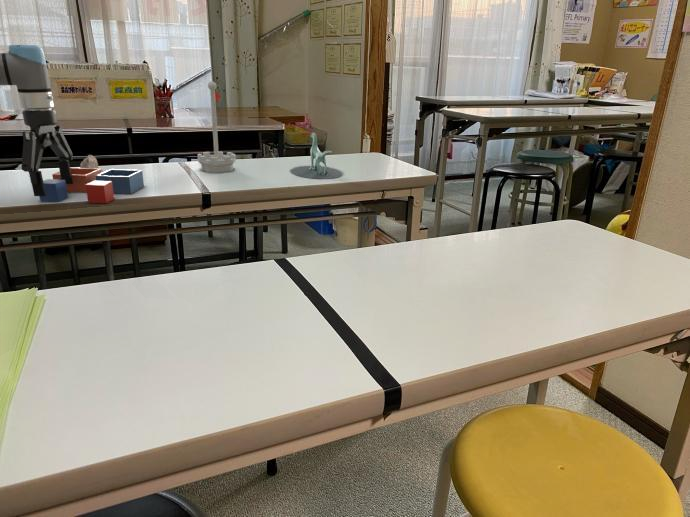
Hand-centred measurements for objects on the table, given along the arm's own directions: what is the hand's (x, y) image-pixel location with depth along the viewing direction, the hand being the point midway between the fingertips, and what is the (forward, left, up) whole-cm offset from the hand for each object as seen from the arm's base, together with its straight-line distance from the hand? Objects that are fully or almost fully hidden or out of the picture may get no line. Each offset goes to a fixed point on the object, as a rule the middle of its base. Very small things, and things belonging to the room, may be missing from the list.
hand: (54, 189), depth 141 cm
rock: (-2, +27, -3) cm, 27 cm away
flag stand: (+33, +47, -3) cm, 57 cm away
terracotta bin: (0, +13, -3) cm, 13 cm away
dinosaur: (+69, +47, -3) cm, 83 cm away
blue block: (0, 0, -3) cm, 3 cm away
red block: (+13, 0, -3) cm, 13 cm away
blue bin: (+13, +13, -3) cm, 18 cm away
